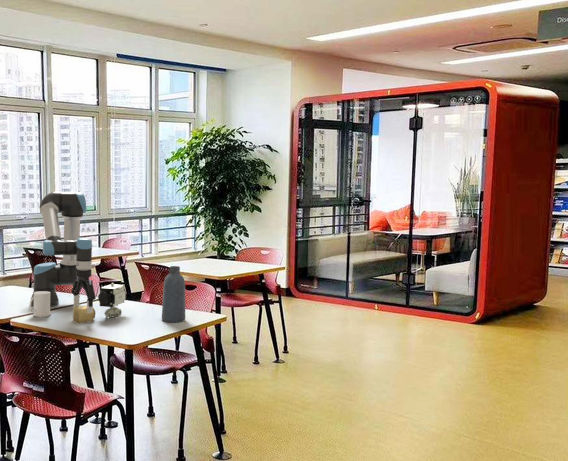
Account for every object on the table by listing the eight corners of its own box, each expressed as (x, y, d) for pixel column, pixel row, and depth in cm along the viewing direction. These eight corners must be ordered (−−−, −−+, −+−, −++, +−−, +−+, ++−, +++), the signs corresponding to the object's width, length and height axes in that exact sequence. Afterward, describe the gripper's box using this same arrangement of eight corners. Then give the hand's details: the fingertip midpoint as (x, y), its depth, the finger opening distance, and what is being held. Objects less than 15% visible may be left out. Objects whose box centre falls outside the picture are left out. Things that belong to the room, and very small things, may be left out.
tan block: (73, 321, 313) (73, 307, 312) (90, 318, 320) (90, 305, 319) (78, 323, 309) (79, 309, 308) (96, 320, 316) (96, 307, 315)
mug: (34, 318, 315) (34, 295, 314) (24, 316, 319) (24, 293, 318) (54, 315, 324) (54, 292, 324) (43, 312, 329) (44, 290, 328)
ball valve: (112, 320, 317) (113, 286, 315) (97, 319, 318) (97, 285, 317) (128, 313, 334) (128, 281, 333) (113, 312, 336) (114, 280, 335)
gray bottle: (159, 318, 326) (161, 265, 324) (182, 317, 331) (183, 265, 328) (163, 323, 315) (165, 268, 313) (187, 322, 319) (188, 268, 317)
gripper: (64, 266, 318) (64, 306, 320) (89, 273, 301) (88, 315, 303) (78, 265, 323) (77, 304, 325) (103, 271, 306) (102, 313, 308)
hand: (83, 310), depth 314 cm, fingers open, 13 cm apart
